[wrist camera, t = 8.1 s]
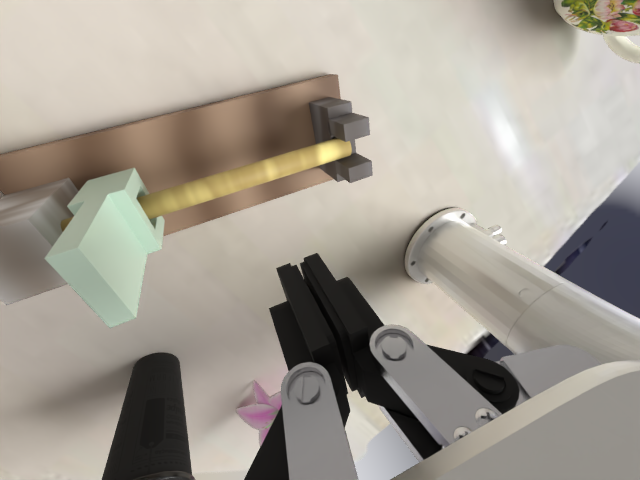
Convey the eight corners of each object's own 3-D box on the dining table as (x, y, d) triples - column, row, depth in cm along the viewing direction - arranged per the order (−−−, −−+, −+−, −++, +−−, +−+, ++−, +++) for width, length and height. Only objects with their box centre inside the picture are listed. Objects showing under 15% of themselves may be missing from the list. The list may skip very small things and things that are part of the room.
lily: (287, 347, 43) (270, 407, 34) (335, 393, 46) (330, 459, 38) (234, 376, 47) (207, 436, 39) (281, 417, 50) (265, 481, 42)
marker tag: (134, 167, 20) (101, 239, 12) (164, 220, 22) (155, 310, 14) (87, 180, 19) (18, 266, 11) (124, 233, 22) (89, 336, 14)
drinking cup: (100, 372, 31) (18, 682, 16) (162, 333, 32) (143, 594, 16) (151, 397, 36) (128, 655, 20) (204, 362, 37) (222, 587, 21)
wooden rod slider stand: (330, 74, 26) (383, 78, 19) (342, 169, 31) (387, 199, 24) (-12, 157, 20) (-112, 205, 13) (74, 257, 25) (35, 329, 18)
